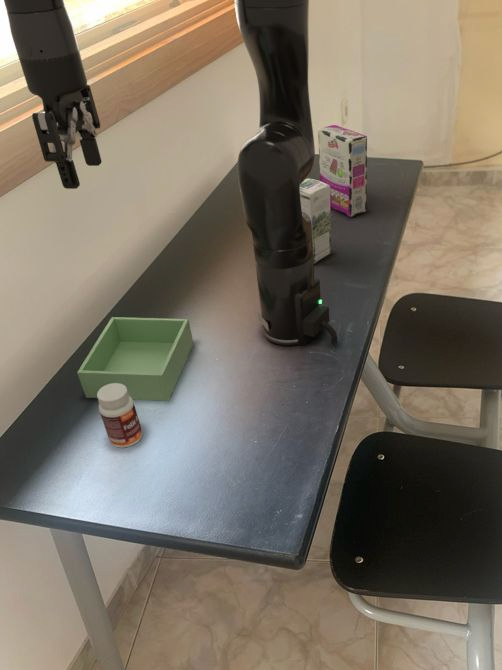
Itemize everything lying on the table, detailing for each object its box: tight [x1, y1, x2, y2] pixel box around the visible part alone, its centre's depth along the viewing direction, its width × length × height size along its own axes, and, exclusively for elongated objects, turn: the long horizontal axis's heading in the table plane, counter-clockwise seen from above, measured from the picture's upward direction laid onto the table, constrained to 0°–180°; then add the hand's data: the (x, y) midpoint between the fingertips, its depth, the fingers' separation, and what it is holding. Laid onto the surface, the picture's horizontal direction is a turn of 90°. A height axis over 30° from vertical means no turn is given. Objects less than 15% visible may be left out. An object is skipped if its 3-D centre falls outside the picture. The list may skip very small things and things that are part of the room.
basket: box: [76, 316, 194, 402], centre depth 105 cm, size 13×15×5 cm
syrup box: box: [300, 177, 332, 265], centre depth 128 cm, size 6×6×14 cm
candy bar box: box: [317, 124, 368, 218], centre depth 144 cm, size 11×5×16 cm, turn 37°
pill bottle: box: [96, 383, 144, 449], centre depth 92 cm, size 5×5×8 cm
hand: (83, 175), depth 95 cm, fingers open, 8 cm apart
